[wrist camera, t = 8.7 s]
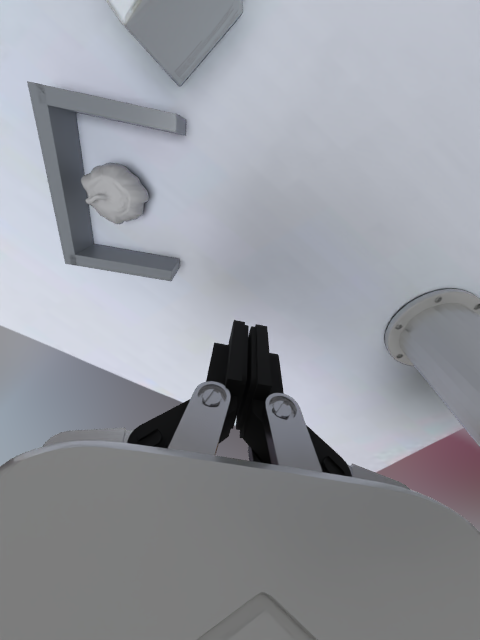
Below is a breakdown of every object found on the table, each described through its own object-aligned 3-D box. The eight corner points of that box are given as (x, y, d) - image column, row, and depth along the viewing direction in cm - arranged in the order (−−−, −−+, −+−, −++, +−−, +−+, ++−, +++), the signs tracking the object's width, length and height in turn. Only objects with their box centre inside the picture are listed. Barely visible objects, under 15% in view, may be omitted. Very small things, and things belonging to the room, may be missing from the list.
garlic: (98, 210, 28) (71, 220, 24) (94, 154, 25) (63, 154, 21) (152, 224, 29) (135, 236, 25) (155, 171, 26) (137, 174, 22)
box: (186, 119, 24) (176, 114, 20) (179, 268, 32) (171, 281, 28) (59, 92, 23) (27, 81, 19) (85, 251, 31) (65, 263, 27)
